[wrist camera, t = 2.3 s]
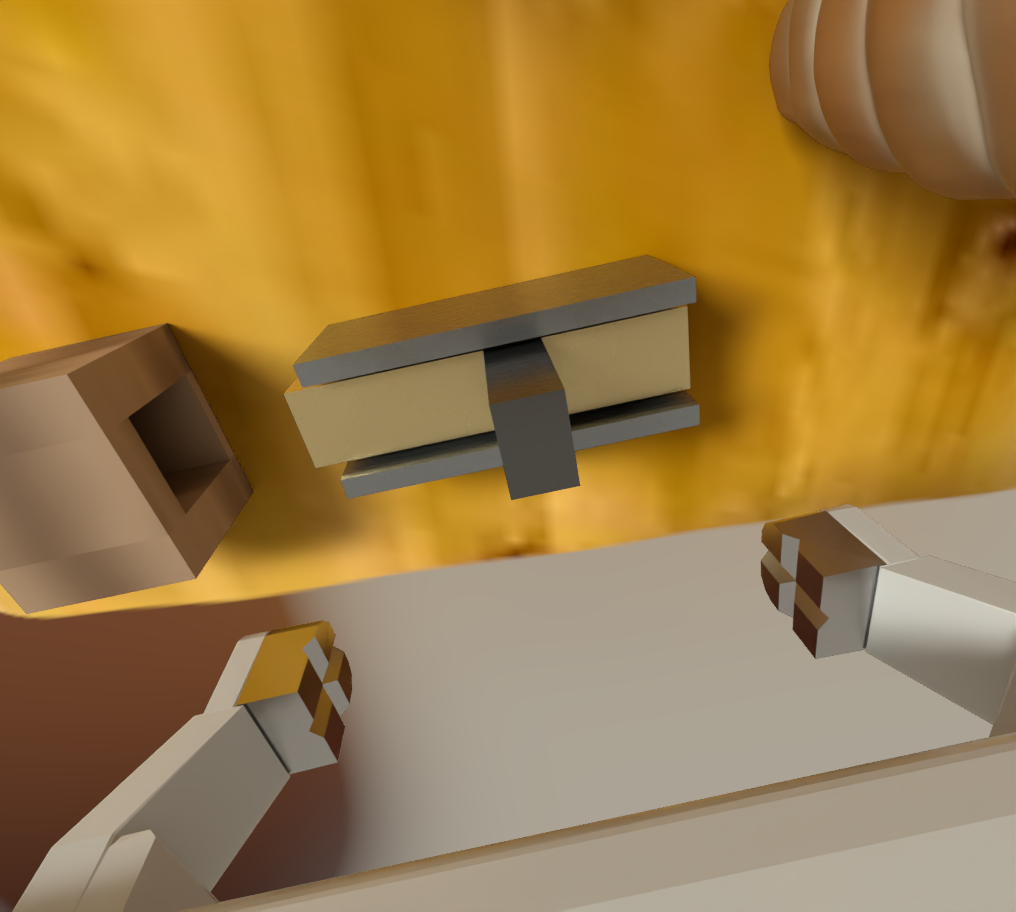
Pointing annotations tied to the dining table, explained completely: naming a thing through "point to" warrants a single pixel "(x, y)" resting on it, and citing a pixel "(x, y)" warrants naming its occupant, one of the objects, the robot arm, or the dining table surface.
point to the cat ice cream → (906, 87)
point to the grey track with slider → (494, 324)
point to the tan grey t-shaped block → (500, 397)
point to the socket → (109, 471)
